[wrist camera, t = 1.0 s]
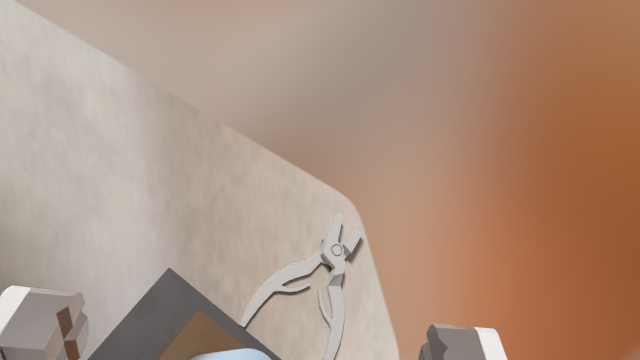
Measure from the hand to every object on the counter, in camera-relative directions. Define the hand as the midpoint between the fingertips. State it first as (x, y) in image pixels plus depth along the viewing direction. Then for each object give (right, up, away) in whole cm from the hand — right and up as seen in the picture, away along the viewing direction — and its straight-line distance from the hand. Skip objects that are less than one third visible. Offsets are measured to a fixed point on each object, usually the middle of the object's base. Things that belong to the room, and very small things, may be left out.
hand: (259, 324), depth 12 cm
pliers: (+1, -7, +39) cm, 39 cm away
